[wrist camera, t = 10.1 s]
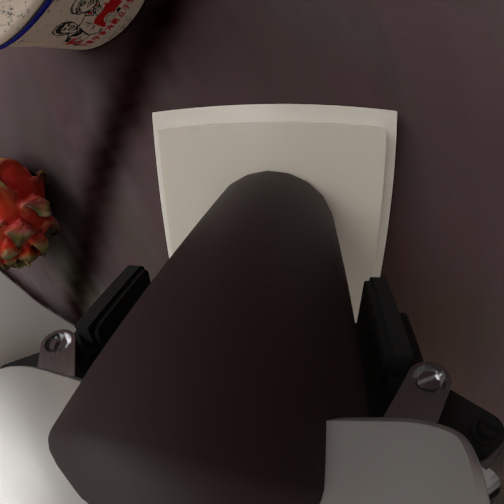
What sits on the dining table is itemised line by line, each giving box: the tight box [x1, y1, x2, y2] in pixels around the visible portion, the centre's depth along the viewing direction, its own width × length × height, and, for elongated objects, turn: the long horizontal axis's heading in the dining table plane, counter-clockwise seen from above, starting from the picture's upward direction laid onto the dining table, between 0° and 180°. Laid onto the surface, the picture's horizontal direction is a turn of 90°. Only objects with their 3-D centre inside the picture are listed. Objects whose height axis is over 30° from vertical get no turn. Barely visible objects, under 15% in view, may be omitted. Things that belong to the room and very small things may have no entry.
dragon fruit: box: [0, 158, 61, 270], centre depth 19 cm, size 8×8×12 cm
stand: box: [152, 104, 397, 323], centre depth 19 cm, size 14×14×3 cm
